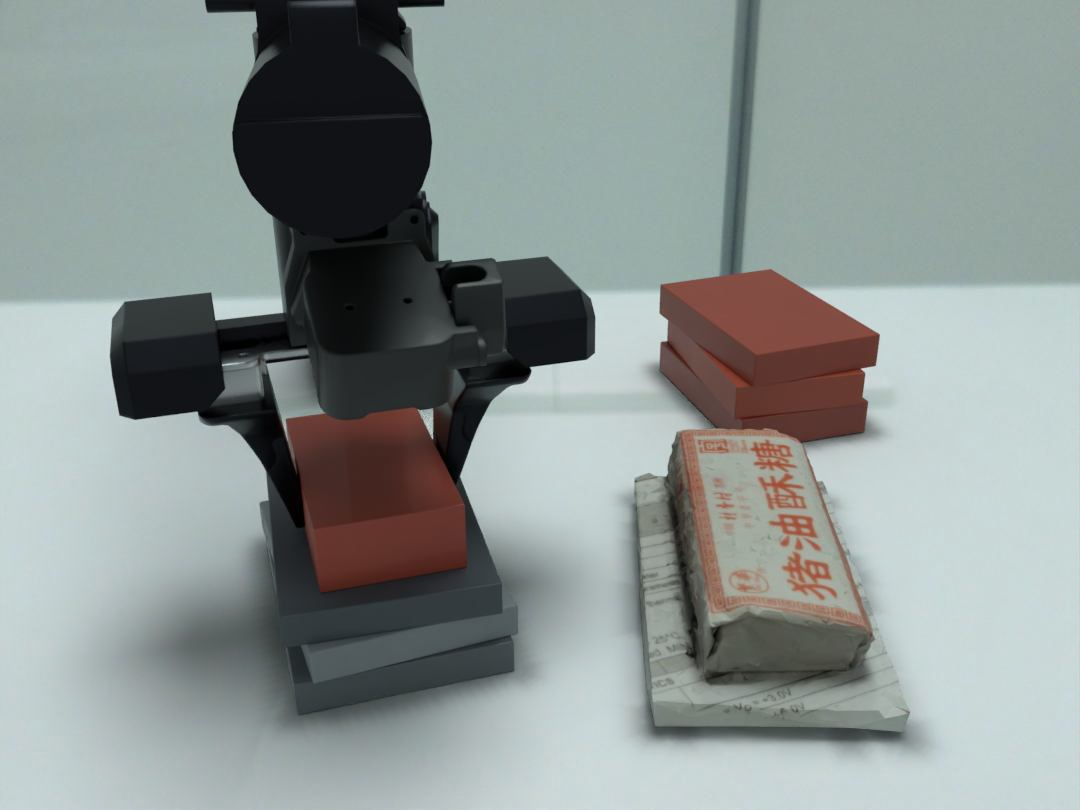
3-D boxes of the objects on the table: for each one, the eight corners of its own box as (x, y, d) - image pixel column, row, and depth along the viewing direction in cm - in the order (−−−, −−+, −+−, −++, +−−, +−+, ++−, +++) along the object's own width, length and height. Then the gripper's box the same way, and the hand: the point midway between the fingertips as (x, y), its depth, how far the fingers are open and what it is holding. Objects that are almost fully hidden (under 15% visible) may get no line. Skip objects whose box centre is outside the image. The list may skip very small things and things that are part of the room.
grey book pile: (261, 543, 57) (251, 464, 55) (449, 512, 60) (445, 435, 58) (291, 719, 46) (280, 626, 44) (523, 671, 48) (521, 582, 46)
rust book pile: (651, 368, 76) (654, 282, 73) (772, 351, 78) (779, 267, 75) (736, 455, 65) (743, 357, 62) (873, 432, 67) (886, 337, 65)
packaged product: (633, 416, 59) (831, 418, 58) (631, 498, 61) (821, 500, 60) (652, 633, 42) (926, 637, 42) (648, 735, 45) (908, 740, 44)
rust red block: (291, 475, 54) (285, 418, 53) (417, 456, 56) (413, 400, 54) (320, 593, 46) (312, 529, 44) (467, 567, 47) (464, 504, 46)
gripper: (69, 246, 34) (151, 666, 41) (653, 191, 39) (639, 574, 46) (85, 158, 44) (149, 511, 51) (553, 123, 49) (553, 449, 56)
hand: (372, 511), depth 50 cm, fingers closed on rust red block, 6 cm apart
